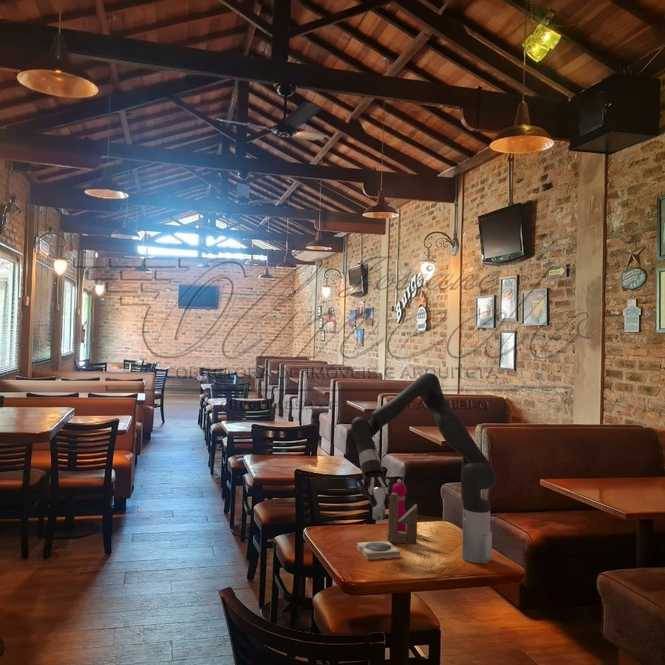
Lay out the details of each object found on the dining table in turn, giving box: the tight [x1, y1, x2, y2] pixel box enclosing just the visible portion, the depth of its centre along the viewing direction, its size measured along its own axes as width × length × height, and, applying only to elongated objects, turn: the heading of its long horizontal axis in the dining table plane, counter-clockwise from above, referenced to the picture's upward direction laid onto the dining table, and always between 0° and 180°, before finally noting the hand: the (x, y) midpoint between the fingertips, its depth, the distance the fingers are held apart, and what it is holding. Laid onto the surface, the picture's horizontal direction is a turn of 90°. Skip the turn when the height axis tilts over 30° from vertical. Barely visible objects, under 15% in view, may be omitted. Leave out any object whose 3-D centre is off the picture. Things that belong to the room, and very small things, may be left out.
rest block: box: [356, 540, 401, 561], centre depth 210 cm, size 12×12×2 cm
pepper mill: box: [392, 478, 408, 532], centre depth 239 cm, size 7×7×20 cm
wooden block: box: [386, 492, 418, 545], centre depth 223 cm, size 4×11×18 cm, turn 89°
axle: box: [372, 486, 387, 521], centre depth 211 cm, size 4×4×11 cm
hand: (380, 505), depth 209 cm, fingers closed on axle, 4 cm apart
